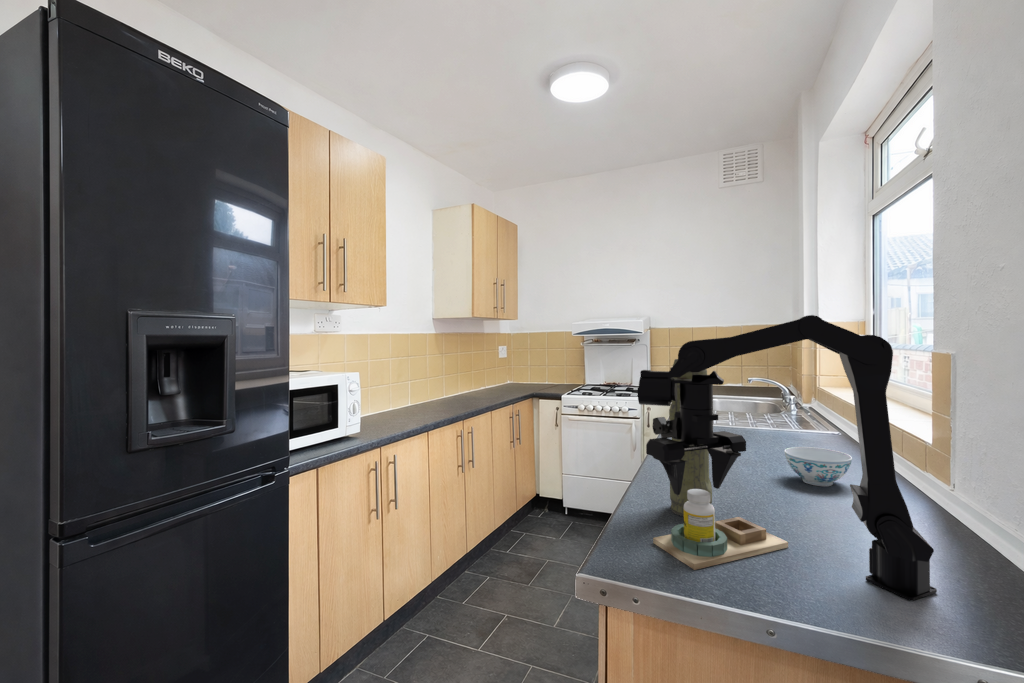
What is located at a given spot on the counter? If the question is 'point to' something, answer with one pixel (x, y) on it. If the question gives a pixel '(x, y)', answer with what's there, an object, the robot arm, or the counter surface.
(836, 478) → the chinaware
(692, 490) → the supplement bottle
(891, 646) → the counter surface
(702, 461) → the thermos
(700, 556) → the socket board
